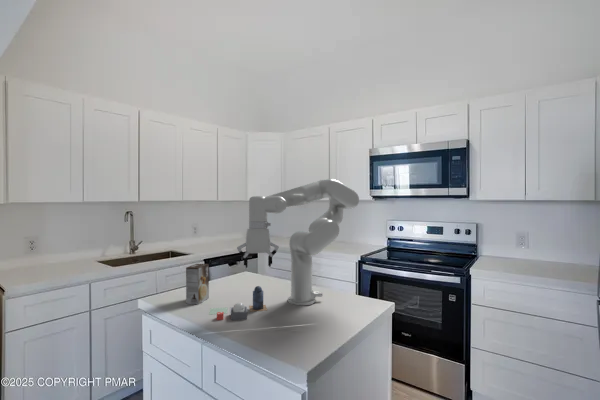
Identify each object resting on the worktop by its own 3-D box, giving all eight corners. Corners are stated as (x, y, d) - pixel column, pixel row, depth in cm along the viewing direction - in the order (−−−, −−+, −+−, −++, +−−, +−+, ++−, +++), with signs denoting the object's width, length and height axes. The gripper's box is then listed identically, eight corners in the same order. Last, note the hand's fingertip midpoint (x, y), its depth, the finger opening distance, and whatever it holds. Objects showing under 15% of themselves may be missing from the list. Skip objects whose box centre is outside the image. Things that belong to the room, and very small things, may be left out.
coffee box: (196, 297, 143) (196, 263, 143) (209, 298, 142) (209, 263, 142) (185, 303, 134) (185, 267, 134) (198, 304, 133) (199, 268, 133)
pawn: (262, 305, 130) (262, 284, 130) (263, 309, 126) (263, 287, 126) (252, 306, 129) (252, 285, 129) (253, 310, 125) (253, 287, 125)
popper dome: (244, 313, 121) (244, 300, 121) (244, 317, 116) (244, 304, 116) (233, 314, 120) (233, 301, 120) (233, 318, 115) (233, 304, 115)
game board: (265, 305, 132) (265, 298, 132) (269, 318, 117) (269, 310, 117) (210, 309, 127) (210, 302, 127) (207, 323, 113) (207, 314, 113)
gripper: (277, 224, 133) (277, 263, 133) (237, 225, 129) (236, 265, 129) (279, 226, 126) (279, 267, 126) (237, 226, 122) (237, 269, 122)
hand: (258, 266), depth 127 cm, fingers open, 9 cm apart
